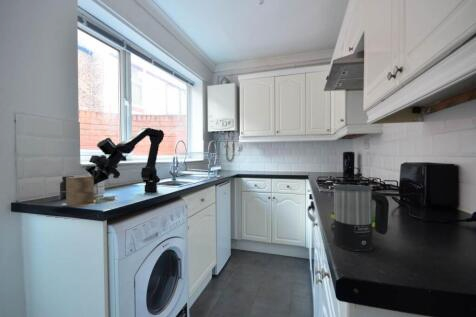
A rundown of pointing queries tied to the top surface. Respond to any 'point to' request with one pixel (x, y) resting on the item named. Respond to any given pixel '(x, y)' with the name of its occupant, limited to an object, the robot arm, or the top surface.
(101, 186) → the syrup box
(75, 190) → the block
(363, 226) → the milk frother
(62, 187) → the supplement bottle
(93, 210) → the top surface
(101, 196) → the chute
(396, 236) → the top surface
